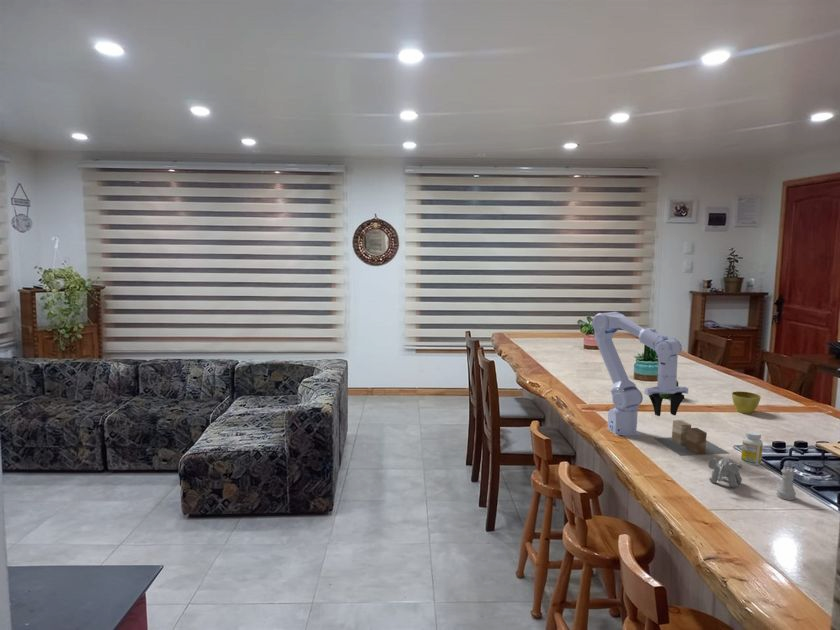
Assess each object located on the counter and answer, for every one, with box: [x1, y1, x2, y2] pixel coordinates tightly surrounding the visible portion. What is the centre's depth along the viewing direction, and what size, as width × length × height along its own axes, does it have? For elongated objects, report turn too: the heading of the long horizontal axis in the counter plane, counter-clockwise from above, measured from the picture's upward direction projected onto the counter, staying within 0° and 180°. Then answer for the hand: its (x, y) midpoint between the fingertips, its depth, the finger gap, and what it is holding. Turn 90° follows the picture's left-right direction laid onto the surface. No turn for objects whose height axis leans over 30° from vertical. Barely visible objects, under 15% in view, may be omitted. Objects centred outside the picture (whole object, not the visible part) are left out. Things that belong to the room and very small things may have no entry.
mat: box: [653, 436, 729, 457], centre depth 187 cm, size 17×16×1 cm
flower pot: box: [731, 390, 762, 415], centre depth 225 cm, size 10×10×7 cm
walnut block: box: [686, 427, 708, 454], centre depth 181 cm, size 4×5×7 cm
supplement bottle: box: [740, 430, 764, 466], centre depth 173 cm, size 5×5×10 cm
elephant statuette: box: [708, 457, 743, 489], centre depth 157 cm, size 9×12×8 cm
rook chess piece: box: [776, 466, 797, 501], centre depth 149 cm, size 4×4×8 cm
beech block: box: [671, 419, 692, 445], centre depth 189 cm, size 4×5×7 cm
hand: (665, 414), depth 187 cm, fingers open, 5 cm apart
